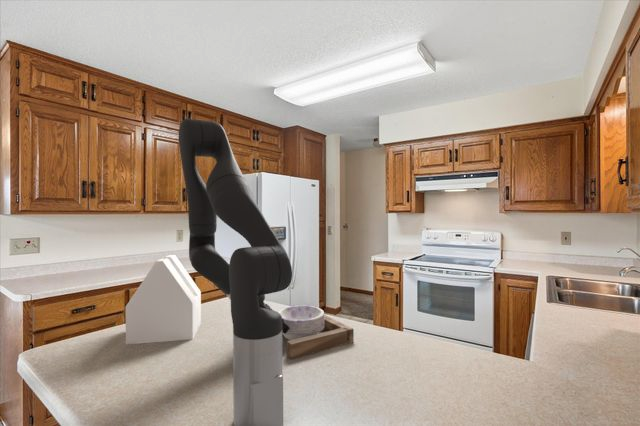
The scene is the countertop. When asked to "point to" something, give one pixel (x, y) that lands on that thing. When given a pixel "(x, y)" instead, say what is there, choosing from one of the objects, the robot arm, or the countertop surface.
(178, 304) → the white house shaped block
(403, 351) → the countertop surface
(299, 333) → the paper bowls
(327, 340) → the walnut bay
